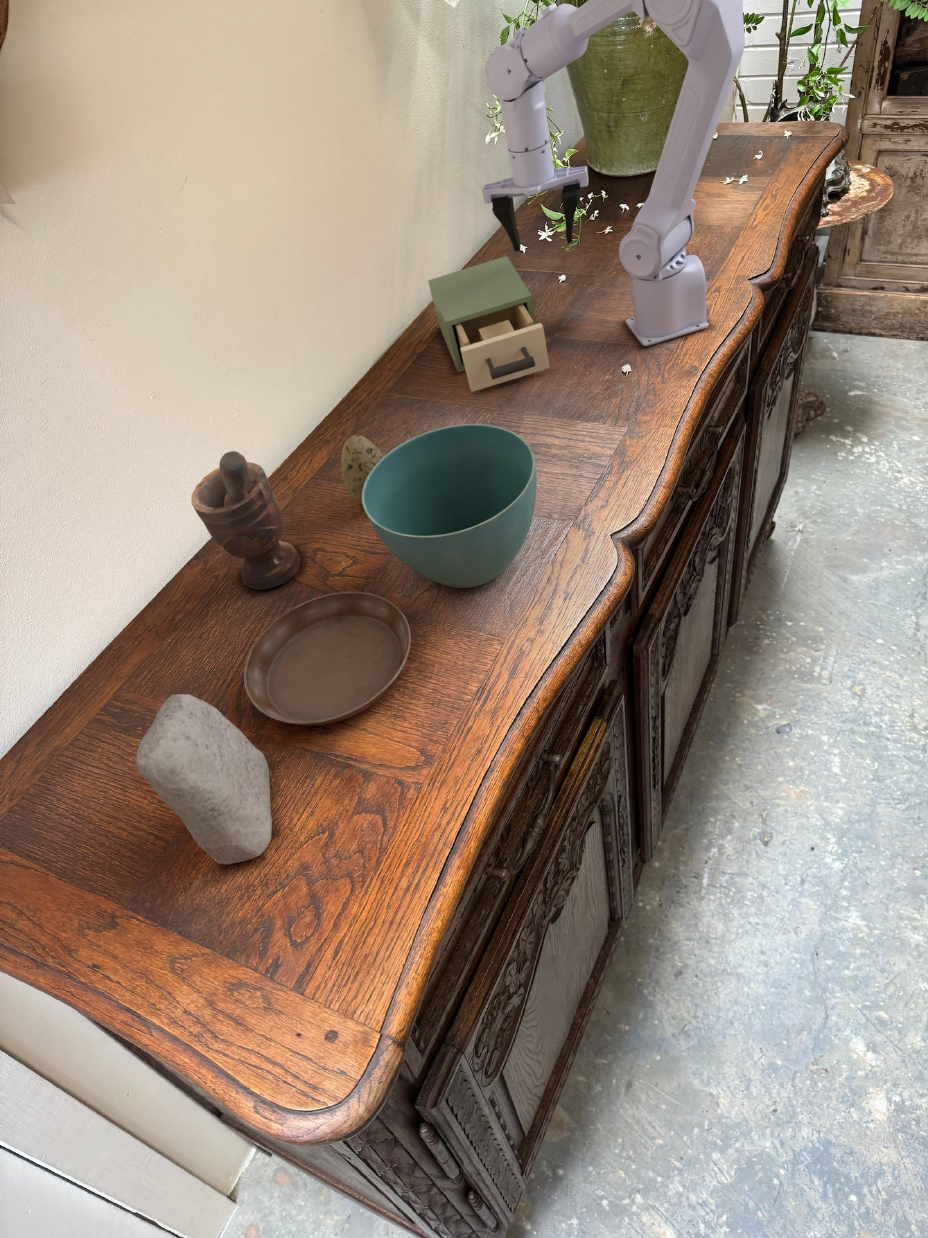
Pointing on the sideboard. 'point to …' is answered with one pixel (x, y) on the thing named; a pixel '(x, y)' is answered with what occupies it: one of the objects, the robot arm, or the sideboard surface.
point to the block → (495, 330)
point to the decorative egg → (358, 464)
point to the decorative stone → (209, 778)
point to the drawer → (501, 348)
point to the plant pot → (454, 502)
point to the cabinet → (476, 297)
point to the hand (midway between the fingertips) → (543, 244)
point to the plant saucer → (327, 658)
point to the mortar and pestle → (246, 521)
